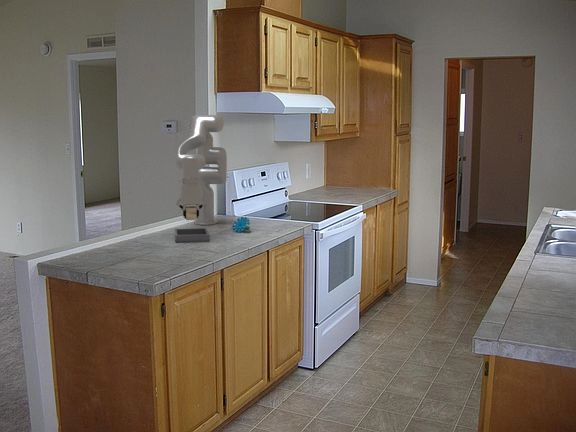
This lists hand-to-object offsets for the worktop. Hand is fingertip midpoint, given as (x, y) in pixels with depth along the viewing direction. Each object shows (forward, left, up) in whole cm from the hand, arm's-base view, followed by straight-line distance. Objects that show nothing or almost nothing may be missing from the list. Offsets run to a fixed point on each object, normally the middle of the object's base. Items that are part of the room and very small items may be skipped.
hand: (191, 217), depth 306 cm
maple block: (0, 0, -1) cm, 1 cm away
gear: (-14, +27, -11) cm, 32 cm away
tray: (0, 0, -11) cm, 11 cm away
